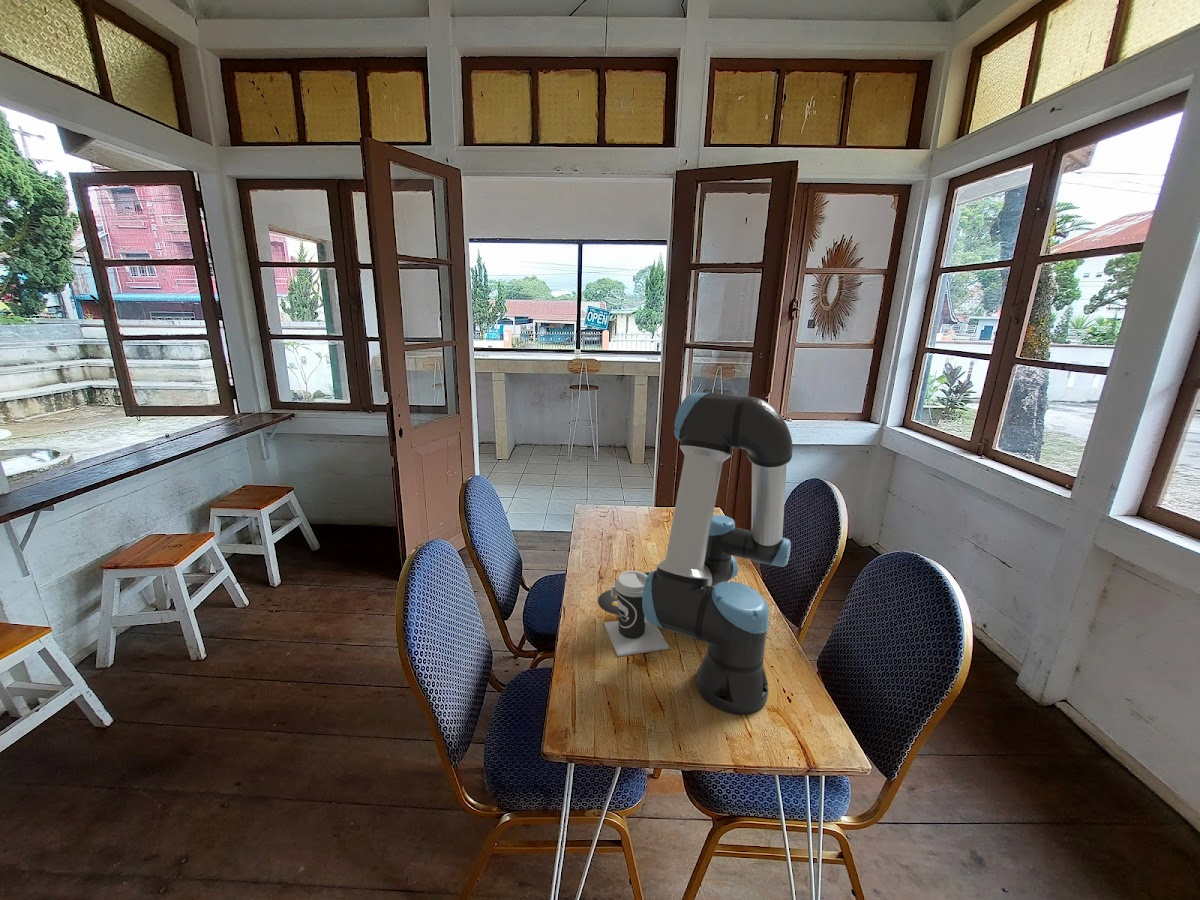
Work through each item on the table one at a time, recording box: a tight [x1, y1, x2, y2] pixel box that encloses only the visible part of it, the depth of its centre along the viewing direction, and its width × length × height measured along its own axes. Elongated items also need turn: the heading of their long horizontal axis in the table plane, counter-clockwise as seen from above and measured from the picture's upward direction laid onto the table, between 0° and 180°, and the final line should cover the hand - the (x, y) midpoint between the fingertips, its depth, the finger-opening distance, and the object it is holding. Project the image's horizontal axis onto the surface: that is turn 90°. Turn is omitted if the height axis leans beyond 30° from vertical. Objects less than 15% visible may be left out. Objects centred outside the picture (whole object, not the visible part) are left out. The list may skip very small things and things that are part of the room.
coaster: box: [597, 589, 618, 615], centre depth 141 cm, size 13×13×1 cm
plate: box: [603, 620, 670, 658], centre depth 126 cm, size 13×13×1 cm
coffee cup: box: [614, 570, 648, 639], centre depth 125 cm, size 10×10×15 cm
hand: (627, 604), depth 122 cm, fingers open, 13 cm apart
